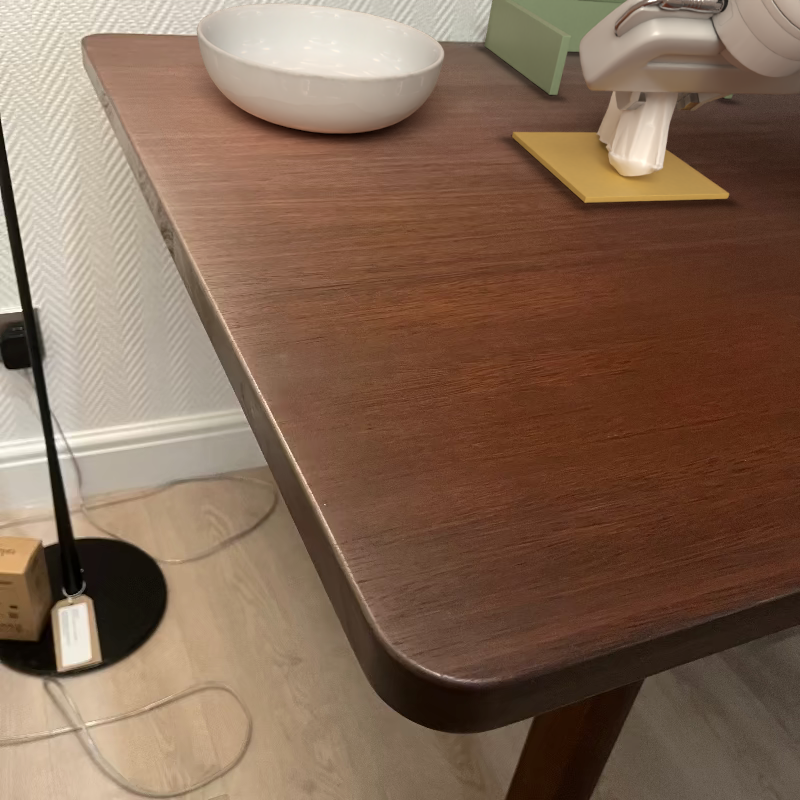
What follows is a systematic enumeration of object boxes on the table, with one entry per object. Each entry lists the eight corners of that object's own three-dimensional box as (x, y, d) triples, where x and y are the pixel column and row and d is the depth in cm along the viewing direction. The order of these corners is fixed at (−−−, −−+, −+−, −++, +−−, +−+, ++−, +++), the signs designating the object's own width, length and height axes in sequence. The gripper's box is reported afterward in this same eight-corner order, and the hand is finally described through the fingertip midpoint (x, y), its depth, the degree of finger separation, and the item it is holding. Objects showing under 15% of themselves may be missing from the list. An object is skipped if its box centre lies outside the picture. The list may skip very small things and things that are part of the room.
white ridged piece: (655, 192, 67) (707, 52, 60) (606, 182, 67) (651, 41, 60) (638, 141, 76) (680, 16, 69) (594, 133, 76) (633, 6, 69)
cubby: (648, 52, 107) (664, -4, 103) (731, 99, 94) (754, 37, 90) (483, 45, 100) (494, -15, 95) (549, 95, 86) (565, 27, 82)
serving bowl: (151, 95, 71) (146, 11, 67) (329, 68, 84) (334, -4, 80) (303, 181, 61) (308, 88, 57) (480, 135, 74) (495, 56, 70)
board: (640, 137, 79) (642, 132, 79) (727, 199, 69) (729, 193, 68) (511, 137, 74) (512, 131, 74) (584, 203, 64) (586, 197, 64)
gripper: (655, 41, 49) (546, 139, 62) (905, 52, 56) (759, 139, 69) (638, -57, 50) (534, 61, 63) (888, -34, 56) (746, 68, 69)
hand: (653, 101), depth 66 cm, fingers closed on white ridged piece, 4 cm apart
